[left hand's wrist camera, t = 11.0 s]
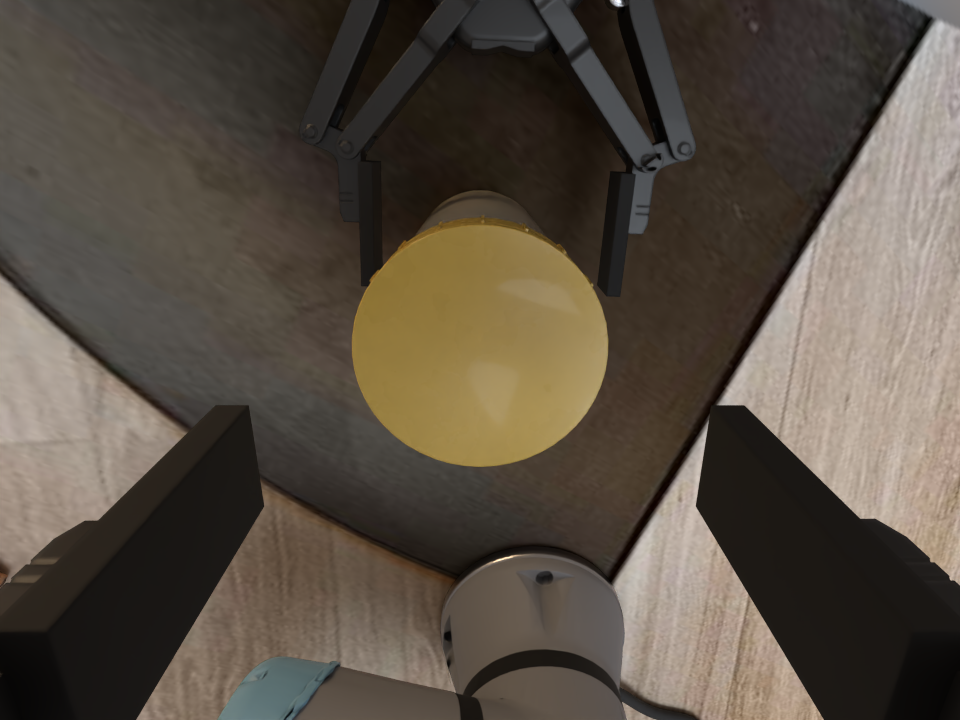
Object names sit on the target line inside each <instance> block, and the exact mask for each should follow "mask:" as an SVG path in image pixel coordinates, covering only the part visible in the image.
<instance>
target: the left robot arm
mask: <svg viewBox="0 0 960 720" xmlns="http://www.w3.org/2000/svg"><path fill="white" fill-rule="evenodd" d="M263 507H264V502H263V495H262V489H261V482H260V476H259V469H258V463H257V456H256V450H255V444H254V437H253V431H252V424H251V418H250V411H249V405H216V406H215V407H214V408H213V409H212V410H211V411H210V412H209V413H207V414H206V415H205V416H204V417H203V418H202V419H201V420H200V421H199V422H198V423H197V424H196V425H195V426H194V427H193V428H192V429H191V430H190V431H189V432H188V433H187V434H186V435H185V436H184V437H183V438H182V439H181V440H180V441H179V442H178V443H177V444H176V445H175V446H174V447H173V448H172V449H171V450H170V451H169V452H168V453H167V454H166V455H165V456H164V457H163V458H162V459H161V460H159V461H158V462H157V463H156V464H155V465H154V466H153V467H152V468H151V469H150V470H149V471H148V472H147V473H146V474H145V475H144V476H143V477H142V478H141V479H140V480H139V481H138V482H137V483H136V484H135V485H134V486H133V487H132V488H131V489H130V490H129V491H128V492H127V493H126V494H125V495H124V496H123V497H122V498H121V499H120V500H119V501H118V502H117V503H116V504H115V505H114V506H112V507H111V508H110V509H109V510H108V511H107V512H106V513H105V514H104V515H103V516H102V517H101V518H100V519H99V520H98V521H84V522H82V523H80V524H79V525H77V526H75V527H74V528H72V529H70V530H68V531H67V532H65V533H63V534H62V535H60V536H58V537H56V538H55V539H53V540H52V541H51V542H50V543H49V544H48V545H47V546H46V547H45V548H44V549H43V550H41V551H40V552H39V553H38V554H37V555H36V556H35V557H34V558H33V559H32V560H31V563H30V565H25V566H24V567H23V568H22V569H21V570H20V571H19V572H18V573H16V574H15V575H14V576H13V577H12V578H11V582H10V583H6V584H5V585H3V586H2V587H1V588H0V720H136V719H137V717H138V715H139V714H140V712H141V711H142V709H143V707H144V706H145V704H146V702H147V701H148V699H149V697H150V696H151V694H152V692H153V691H154V689H155V687H156V686H157V684H158V682H159V681H160V679H161V677H162V676H163V674H164V672H165V671H166V669H167V667H168V666H169V664H170V662H171V661H172V659H173V657H174V656H175V654H176V652H177V651H178V649H179V647H180V646H181V644H182V642H183V641H184V639H185V637H186V636H187V634H188V632H189V631H190V629H191V627H192V626H193V624H194V622H195V621H196V619H197V617H198V616H199V614H200V612H201V611H202V609H203V607H204V606H205V604H206V602H207V601H208V599H209V597H210V596H211V594H212V592H213V591H214V589H215V587H216V586H217V584H218V582H219V581H220V579H221V577H222V576H223V574H224V572H225V571H226V569H227V567H228V566H229V564H230V562H231V561H232V559H233V557H234V556H235V554H236V552H237V551H238V549H239V547H240V546H241V544H242V542H243V541H244V539H245V537H246V536H247V534H248V532H249V531H250V529H251V527H252V526H253V524H254V522H255V521H256V519H257V517H258V516H259V514H260V512H261V511H262V509H263ZM696 507H697V509H698V511H699V512H700V514H701V516H702V517H703V519H704V521H705V522H706V524H707V526H708V527H709V529H710V531H711V532H712V534H713V536H714V537H715V539H716V541H717V542H718V544H719V546H720V547H721V549H722V551H723V552H724V554H725V556H726V557H727V559H728V561H729V562H730V564H731V566H732V567H733V569H734V571H735V572H736V574H737V576H738V577H739V579H740V581H741V582H742V584H743V586H744V587H745V589H746V591H747V592H748V594H749V596H750V597H751V599H752V601H753V602H754V604H755V606H756V607H757V609H758V611H759V612H760V614H761V616H762V617H763V619H764V621H765V622H766V624H767V626H768V627H769V629H770V631H771V632H772V634H773V636H774V637H775V639H776V641H777V642H778V644H779V646H780V647H781V649H782V651H783V652H784V654H785V656H786V657H787V659H788V661H789V662H790V664H791V666H792V667H793V669H794V671H795V672H796V674H797V676H798V677H799V679H800V681H801V682H802V684H803V686H804V687H805V689H806V691H807V692H808V694H809V696H810V697H811V699H812V701H813V702H814V704H815V706H816V707H817V709H818V711H819V712H820V714H821V715H822V717H823V719H824V720H960V585H959V584H957V583H956V582H955V581H951V580H950V579H949V575H948V574H947V573H945V572H944V571H943V570H942V569H941V568H940V567H939V566H938V565H937V564H936V563H935V562H930V558H929V557H928V556H927V555H926V554H925V553H924V552H922V551H921V550H920V549H919V548H918V547H917V546H916V545H915V544H914V543H913V542H912V541H910V540H909V539H908V538H907V537H906V536H904V535H902V534H901V533H899V532H897V531H895V530H894V529H892V528H890V527H889V526H887V525H885V524H883V523H882V522H880V521H878V520H877V519H860V518H859V517H858V516H857V515H856V514H855V513H854V512H853V511H852V510H851V509H850V508H849V507H848V506H846V505H845V504H844V503H843V502H842V501H841V500H840V499H839V498H838V497H837V496H836V495H835V494H834V493H833V492H832V491H831V490H830V489H829V488H828V487H827V486H826V485H825V484H824V483H823V482H822V481H821V480H820V479H819V478H818V477H817V476H816V475H815V474H814V473H813V472H812V471H811V470H810V469H809V468H808V467H807V466H806V465H805V464H804V463H803V462H802V461H801V460H799V459H798V458H797V457H796V456H795V455H794V454H793V453H792V452H791V451H790V450H789V449H788V448H787V447H786V446H785V445H784V444H783V443H782V442H781V441H780V440H779V439H778V438H777V437H776V436H775V435H774V434H773V433H772V432H771V431H770V430H769V429H768V428H767V427H766V426H765V425H764V424H763V423H762V422H761V421H760V420H759V419H758V418H757V417H756V416H755V415H754V414H753V413H751V412H750V411H749V410H748V409H747V408H746V407H745V406H744V405H711V411H710V418H709V424H708V431H707V437H706V444H705V450H704V456H703V463H702V469H701V476H700V482H699V489H698V495H697V502H696ZM624 634H625V633H624V622H623V615H622V610H621V607H620V603H619V600H618V597H617V594H616V592H615V590H614V588H613V586H612V584H611V583H610V581H609V580H608V578H607V577H606V576H605V575H604V574H603V573H602V572H601V571H600V570H599V569H598V568H597V567H596V566H594V565H593V564H592V563H590V562H589V561H587V560H585V559H584V558H582V557H580V556H578V555H575V554H573V553H570V552H567V551H564V550H560V549H556V548H550V547H539V546H528V547H517V548H512V549H507V550H503V551H500V552H497V553H494V554H491V555H489V556H487V557H485V558H483V559H481V560H479V561H477V562H476V563H474V564H473V565H471V566H470V567H469V568H467V569H466V570H465V571H464V572H463V573H462V574H461V575H460V576H459V577H458V578H457V579H456V580H455V582H454V583H453V584H452V586H451V588H450V589H449V591H448V593H447V595H446V598H445V600H444V604H443V608H442V616H441V641H442V650H443V654H444V659H445V664H446V668H447V666H448V668H447V673H448V669H449V672H450V675H451V678H452V681H453V684H454V687H455V690H456V693H454V692H451V691H446V690H441V689H437V688H432V687H427V686H423V685H418V684H413V683H409V682H404V681H399V680H395V679H391V678H387V677H383V676H378V675H374V674H370V673H366V672H361V671H357V670H353V669H349V668H344V667H340V662H336V661H332V662H330V663H322V662H316V661H310V660H304V659H298V658H292V657H282V656H280V657H274V658H270V659H268V660H266V661H264V662H262V663H260V664H259V665H258V666H256V667H255V668H254V669H253V670H252V671H251V672H250V673H249V674H248V675H247V676H246V677H245V678H244V680H243V681H242V682H241V684H240V685H239V686H238V688H237V689H236V691H235V692H234V694H233V695H232V697H231V698H230V700H229V701H228V703H227V705H226V706H225V708H224V709H223V711H222V713H221V714H220V716H219V718H218V719H217V720H627V719H626V715H625V712H624V708H623V705H622V702H624V703H625V704H627V705H629V706H630V707H632V708H633V709H635V710H637V711H638V712H640V713H642V714H644V715H646V716H648V717H651V718H653V719H656V720H697V719H696V718H694V717H692V716H690V715H687V714H684V713H680V712H675V711H669V710H664V709H660V708H657V707H654V706H651V705H649V704H647V703H645V702H643V701H642V700H640V699H638V698H637V697H635V696H633V695H632V694H630V693H629V692H627V691H626V690H624V689H622V688H620V687H619V686H620V676H621V665H622V652H623V644H624ZM446 662H447V663H446ZM448 677H449V673H448ZM449 680H450V677H449ZM450 683H451V682H450Z"/></svg>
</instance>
